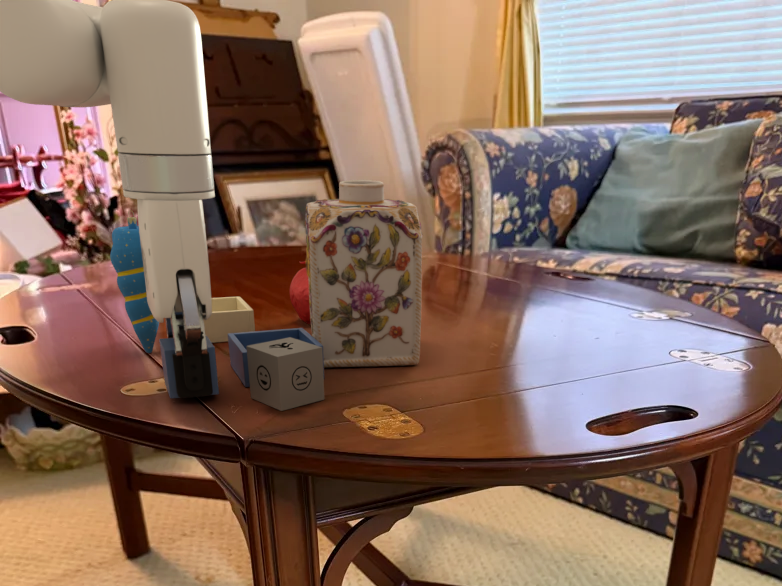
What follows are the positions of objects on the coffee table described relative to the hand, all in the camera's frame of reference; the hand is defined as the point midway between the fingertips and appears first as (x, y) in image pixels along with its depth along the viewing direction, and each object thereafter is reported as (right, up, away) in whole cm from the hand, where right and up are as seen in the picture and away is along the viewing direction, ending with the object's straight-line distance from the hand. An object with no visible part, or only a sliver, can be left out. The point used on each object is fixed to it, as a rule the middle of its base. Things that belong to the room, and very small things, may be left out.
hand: (191, 385), depth 73 cm
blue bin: (+7, +3, +7) cm, 11 cm away
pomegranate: (+10, +14, +29) cm, 34 cm away
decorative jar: (+16, +6, +14) cm, 22 cm away
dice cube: (+9, -1, 0) cm, 9 cm away
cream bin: (-3, +11, +22) cm, 25 cm away
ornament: (-8, +6, +14) cm, 17 cm away
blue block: (0, 0, 0) cm, 0 cm away
